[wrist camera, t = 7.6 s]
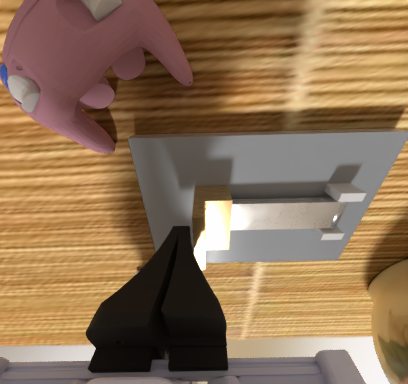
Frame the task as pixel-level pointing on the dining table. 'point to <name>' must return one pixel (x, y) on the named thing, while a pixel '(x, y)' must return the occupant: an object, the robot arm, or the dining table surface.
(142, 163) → the base board
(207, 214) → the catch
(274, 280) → the dining table surface
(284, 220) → the silver flat bar
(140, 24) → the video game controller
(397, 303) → the pitcher
